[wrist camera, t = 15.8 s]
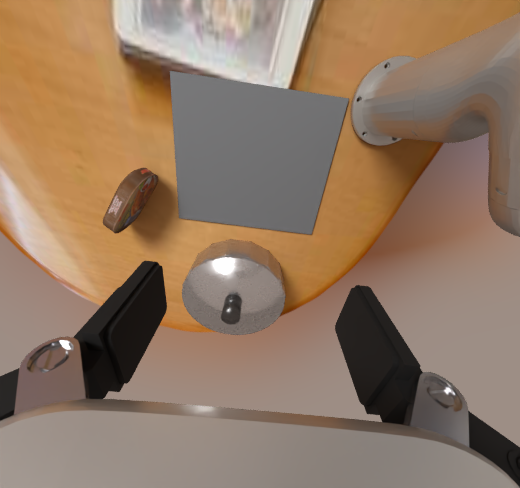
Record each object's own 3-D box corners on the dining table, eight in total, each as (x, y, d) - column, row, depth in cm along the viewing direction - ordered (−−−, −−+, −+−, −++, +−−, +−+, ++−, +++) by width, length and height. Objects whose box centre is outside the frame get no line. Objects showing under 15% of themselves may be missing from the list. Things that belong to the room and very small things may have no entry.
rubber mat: (348, 98, 37) (348, 98, 36) (311, 233, 49) (311, 234, 49) (170, 71, 35) (169, 70, 35) (179, 217, 48) (179, 218, 48)
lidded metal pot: (290, 246, 51) (298, 280, 40) (274, 315, 63) (276, 357, 51) (190, 233, 50) (168, 265, 39) (192, 307, 62) (176, 347, 50)
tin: (133, 224, 49) (110, 241, 42) (120, 215, 48) (94, 232, 41) (164, 172, 43) (143, 181, 36) (149, 161, 42) (125, 169, 35)
